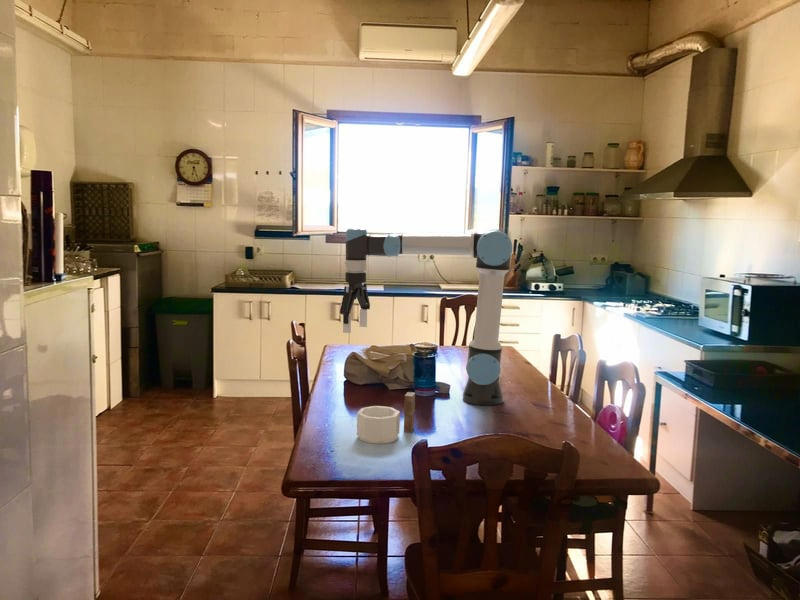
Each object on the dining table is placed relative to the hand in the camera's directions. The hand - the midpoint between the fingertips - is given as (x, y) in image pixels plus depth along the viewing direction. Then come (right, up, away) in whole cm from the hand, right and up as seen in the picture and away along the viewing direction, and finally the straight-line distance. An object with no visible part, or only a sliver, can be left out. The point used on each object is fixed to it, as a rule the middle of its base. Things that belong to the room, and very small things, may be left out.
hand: (355, 329), depth 237 cm
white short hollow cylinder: (+9, -32, -34) cm, 48 cm away
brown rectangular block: (+19, -31, -27) cm, 45 cm away
